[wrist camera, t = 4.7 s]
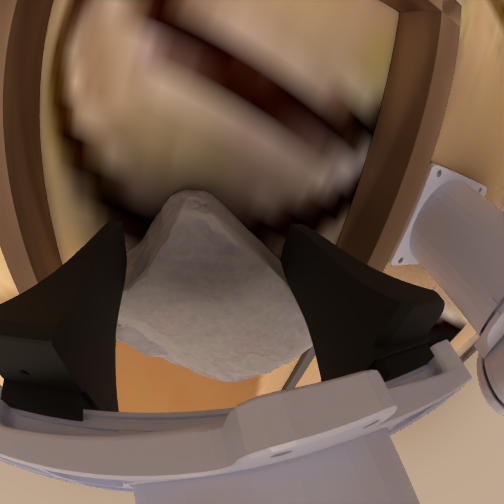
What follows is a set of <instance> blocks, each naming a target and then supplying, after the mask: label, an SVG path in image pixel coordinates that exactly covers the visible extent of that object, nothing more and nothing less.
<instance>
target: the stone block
mask: <svg viewBox="0 0 504 504" xmlns="http://www.w3.org/2000/svg"><path fill="white" fill-rule="evenodd" d="M126 256H127V268H126V278H125V284H124V289H123V294H122V299H121V304H120V310H119V315H118V321H117V328H116V340H117V341H120V342H123V343H126V344H128V345H130V346H131V347H133V348H134V349H135V350H136V351H138V352H140V353H142V354H145V355H147V356H151V357H158V356H161V357H162V358H164V359H166V360H168V361H169V362H171V363H174V364H177V365H180V366H184V367H187V368H189V369H191V370H192V371H193V372H195V373H198V374H200V375H203V376H206V377H209V378H213V379H217V380H220V381H235V382H238V381H242V380H244V379H248V378H251V377H255V376H257V375H259V374H266V373H271V372H272V371H273V370H274V369H276V368H278V367H280V366H282V365H283V364H287V363H290V362H292V361H293V360H294V359H295V358H297V357H298V356H299V355H301V354H302V353H304V352H305V351H307V350H308V349H309V348H311V347H312V346H313V343H312V340H311V337H310V334H309V331H308V327H307V324H306V322H305V319H304V317H303V314H302V312H301V310H300V308H299V306H298V304H297V302H296V300H295V297H294V295H293V293H292V291H291V289H290V287H289V285H288V283H287V280H286V278H285V275H284V272H283V268H282V265H281V261H280V260H279V259H278V258H277V257H276V256H275V255H274V254H273V253H272V252H271V251H270V250H269V249H268V248H267V247H266V246H265V245H264V244H263V243H262V242H261V241H260V240H259V239H258V238H257V237H256V236H255V235H253V234H252V233H251V232H250V231H249V230H248V229H247V228H246V227H245V226H244V225H243V224H242V223H241V222H240V221H239V220H238V219H237V218H236V217H235V216H234V215H233V214H232V213H231V212H230V211H229V210H228V209H227V208H226V207H225V206H224V205H223V204H222V203H221V202H220V201H219V200H218V199H217V198H216V197H215V196H213V195H212V194H210V193H208V192H206V191H204V190H183V191H180V192H178V193H176V194H173V195H171V196H170V197H169V199H168V200H167V201H166V202H165V204H164V205H163V206H162V209H161V211H160V212H159V213H158V214H157V216H156V218H155V219H154V220H153V222H152V223H151V225H150V227H149V229H148V231H147V233H146V235H145V236H144V238H143V239H142V240H141V242H140V243H138V244H137V245H136V246H134V247H133V248H132V249H130V250H129V251H128V252H127V253H126Z"/></svg>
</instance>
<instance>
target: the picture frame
mask: <svg viewBox="0 0 504 504" xmlns="http://www.w3.org/2000/svg"><path fill="white" fill-rule="evenodd" d="M479 338H480V336H479V335H478V334H477V333H476V334H475V335H474V336H473V337H472V338H471V339H470V340H469V341H468V342H467V343H466V344H464V345H463V346H462V347H461V348H460V349H459V350H458V351H457V352H456V353H457V355H458V356H459V358H460V359H461V361H462V362H464V361H465V360H467V359H468V358H469V357H470V356H471V355H472V354H473V353H474V352H475V351H476V350H477V349H476V348H475V346H474V344H475V343H476V342H477V341H478V339H479Z"/></svg>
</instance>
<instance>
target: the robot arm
mask: <svg viewBox="0 0 504 504" xmlns="http://www.w3.org/2000/svg"><path fill="white" fill-rule="evenodd" d="M486 192H487V188H486V187H485V186H484V185H482V184H480V183H478V182H476V181H474V180H472V179H470V178H468V177H465V176H463V175H461V174H459V173H457V172H454V171H452V170H450V169H447V168H445V167H443V166H440V165H438V164H435V163H431V164H430V165H429V167H428V170H427V172H426V175H425V178H424V181H423V183H422V186H421V188H420V191H419V194H418V196H417V199H416V201H415V204H414V206H413V208H412V211H411V213H410V215H409V218H408V220H407V222H406V225H405V227H404V229H403V231H402V233H401V236H400V238H399V240H398V242H397V244H396V246H395V248H394V250H393V252H392V254H391V256H390V258H389V263H390V264H391V265H393V266H394V265H412V264H421V265H422V266H423V267H424V269H425V270H426V271H427V272H428V273H429V274H430V275H431V276H432V278H433V279H434V280H435V281H436V282H437V283H438V284H439V286H440V287H441V288H442V289H443V290H444V291H445V293H446V294H447V295H448V296H449V297H450V299H451V300H452V301H453V302H454V304H455V305H456V306H457V307H458V309H459V310H460V311H461V312H462V314H463V315H464V316H465V317H466V319H467V320H468V321H469V323H470V324H471V325H472V327H473V328H474V329H475V331H476V332H477V334H478V335H479V336H480V338H479V339H478V341H477V342H476V343H475V344H474V346H475V348H476V349H477V351H478V352H479V355H478V358H477V375H478V381H479V385H480V388H481V391H482V394H483V396H484V397H485V399H486V401H487V402H488V404H489V405H490V406H491V407H492V408H493V409H494V410H495V411H496V412H498V413H500V414H501V415H503V416H504V212H503V211H502V210H501V209H499V208H498V207H497V206H496V205H494V204H493V203H492V202H490V201H489V200H488V199H486V198H485V194H486ZM280 261H281V265H282V268H283V272H284V275H285V278H286V280H287V283H288V285H289V287H290V289H291V291H292V293H293V295H294V297H295V300H296V302H297V304H298V306H299V308H300V310H301V312H302V314H303V317H304V319H305V322H306V324H307V327H308V331H309V334H310V337H311V340H312V343H313V347H314V351H315V354H316V358H317V362H318V367H319V371H320V375H321V381H322V382H319V383H315V384H310V385H306V386H301V387H296V388H291V389H286V390H281V391H276V392H272V393H269V394H265V395H261V396H257V397H254V398H252V399H250V400H248V401H245V402H243V403H241V404H238V405H237V406H236V407H235V408H227V409H218V410H207V411H194V412H174V413H129V412H119V411H118V401H117V390H116V369H115V347H116V328H117V321H118V315H119V310H120V304H121V299H122V294H123V289H124V284H125V278H126V268H127V256H126V247H125V237H124V227H123V221H109V222H108V223H107V224H106V225H104V226H103V227H102V228H101V229H100V230H99V231H98V232H97V234H96V235H95V236H93V237H92V238H91V239H90V240H89V241H88V242H87V243H86V244H85V245H84V246H83V247H82V248H81V249H80V250H79V251H78V252H77V253H76V254H75V255H74V256H73V257H72V258H70V259H69V260H68V261H67V262H66V263H65V264H63V265H62V266H61V267H60V268H58V269H57V270H56V271H55V272H53V273H52V274H50V275H49V276H48V277H46V278H45V279H43V280H42V281H40V282H39V283H37V284H36V285H34V286H33V287H31V288H30V289H28V290H26V291H25V292H23V293H21V294H19V295H18V296H16V297H14V298H12V299H10V300H8V301H6V302H4V303H2V304H0V375H1V376H2V377H3V378H4V382H3V387H2V386H1V385H0V460H1V461H3V462H6V463H8V464H10V465H13V466H16V467H19V468H21V469H24V470H27V471H30V472H33V473H36V474H40V475H43V476H46V477H50V478H54V479H58V480H61V481H66V482H70V483H74V484H79V485H84V486H90V487H96V488H102V489H109V490H117V491H127V492H134V495H135V501H136V504H420V503H419V501H418V499H417V496H416V494H415V491H414V489H413V487H412V484H411V482H410V480H409V478H408V475H407V473H406V471H405V468H404V466H403V464H402V462H401V460H400V457H399V455H398V453H397V451H396V449H395V446H394V444H393V442H392V440H391V438H390V436H391V435H392V434H394V433H396V432H398V431H399V430H401V429H403V428H405V427H406V426H408V425H410V424H412V423H413V422H415V421H417V420H418V419H420V418H422V417H423V416H425V415H426V414H428V413H429V412H431V411H432V410H434V409H435V408H437V407H438V406H440V405H441V404H443V403H444V402H445V401H446V400H448V399H449V398H450V397H451V396H453V395H454V394H455V393H456V392H457V391H458V390H460V389H461V388H462V387H463V386H464V385H465V384H467V382H469V381H470V380H471V378H472V377H471V375H470V373H469V372H468V370H467V369H466V367H465V366H464V364H463V362H462V361H461V359H460V358H459V356H458V355H457V353H456V352H455V350H454V349H453V347H452V346H451V344H450V343H449V341H448V340H444V341H442V342H439V343H437V344H435V345H433V346H432V347H431V348H429V346H428V345H427V343H428V342H429V341H430V339H429V337H428V336H427V333H428V332H429V330H430V329H431V328H432V327H433V325H434V324H435V323H436V321H437V320H438V319H439V317H440V316H441V314H442V312H443V310H444V305H445V304H444V301H443V299H442V298H441V297H440V296H439V294H438V293H437V292H435V291H434V290H430V289H426V288H423V287H419V286H416V285H413V284H410V283H407V282H404V281H401V280H399V279H396V278H394V277H392V276H389V275H387V274H385V273H383V272H380V271H378V270H376V269H374V268H372V267H370V266H369V265H367V264H365V263H363V262H361V261H360V260H358V259H356V258H354V257H353V256H351V255H350V254H348V253H346V252H345V251H343V250H342V249H340V248H339V247H337V246H336V245H334V244H333V243H331V242H330V241H328V240H327V239H325V238H324V237H322V236H321V235H320V234H318V233H317V232H315V231H313V230H312V229H310V228H309V227H307V226H305V225H303V224H290V226H289V230H288V234H287V237H286V241H285V244H284V248H283V251H282V255H281V258H280Z"/></svg>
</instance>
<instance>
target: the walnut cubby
mask: <svg viewBox="0 0 504 504" xmlns="http://www.w3.org/2000/svg"><path fill="white" fill-rule="evenodd" d="M380 1H382V2H384V3H386V4H387V5H389V6H391V7H393V8H394V9H396V10H397V11H399V12H400V16H399V22H398V29H397V35H396V40H395V46H394V51H393V56H392V61H391V66H390V71H389V75H388V80H387V84H386V89H385V93H384V97H383V101H382V105H381V109H380V113H379V117H378V120H377V124H376V128H375V131H374V135H373V138H372V142H371V145H370V149H369V152H368V155H367V158H366V162H365V165H364V168H363V171H362V174H361V177H360V181H359V184H358V187H357V190H356V193H355V195H354V198H353V201H352V204H351V207H350V210H349V213H348V215H347V218H346V221H345V224H344V226H343V229H342V232H341V234H340V237H339V240H338V242H337V245H336V246H337V247H339V248H340V249H342V250H343V251H345V252H346V253H348V254H350V255H351V256H353V257H354V258H356V259H358V260H360V261H361V262H363V263H365V264H367V265H369V266H370V267H372V268H374V269H376V270H378V271H380V272H383V270H384V268H385V266H386V264H387V262H388V260H389V258H390V256H391V254H392V252H393V250H394V248H395V246H396V244H397V242H398V240H399V238H400V236H401V233H402V231H403V229H404V227H405V225H406V222H407V220H408V218H409V215H410V213H411V211H412V208H413V206H414V204H415V201H416V199H417V196H418V194H419V191H420V188H421V186H422V183H423V181H424V178H425V175H426V172H427V170H428V167H429V164H430V161H431V158H432V155H433V152H434V149H435V146H436V143H437V139H438V136H439V133H440V129H441V126H442V122H443V118H444V115H445V111H446V107H447V103H448V98H449V94H450V89H451V85H452V80H453V74H454V69H455V63H456V57H457V50H458V42H459V33H460V22H461V5H460V4H459V3H458V2H457V1H456V0H380ZM52 2H53V0H0V247H1V250H2V252H3V255H4V258H5V261H6V263H7V266H8V268H9V271H10V273H11V276H12V278H13V280H14V283H15V285H16V287H17V289H18V292H19V294H21V293H23V292H25V291H26V290H28V289H30V288H31V287H33V286H34V285H36V284H37V283H39V282H40V281H42V280H43V279H45V278H46V277H48V276H49V275H50V274H52V273H53V272H55V271H56V270H57V269H58V268H60V267H61V266H62V263H61V260H60V256H59V252H58V249H57V245H56V241H55V237H54V232H53V228H52V224H51V219H50V214H49V209H48V203H47V198H46V191H45V185H44V177H43V169H42V160H41V148H40V130H39V93H40V75H41V64H42V55H43V48H44V41H45V35H46V29H47V24H48V19H49V15H50V10H51V6H52Z"/></svg>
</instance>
